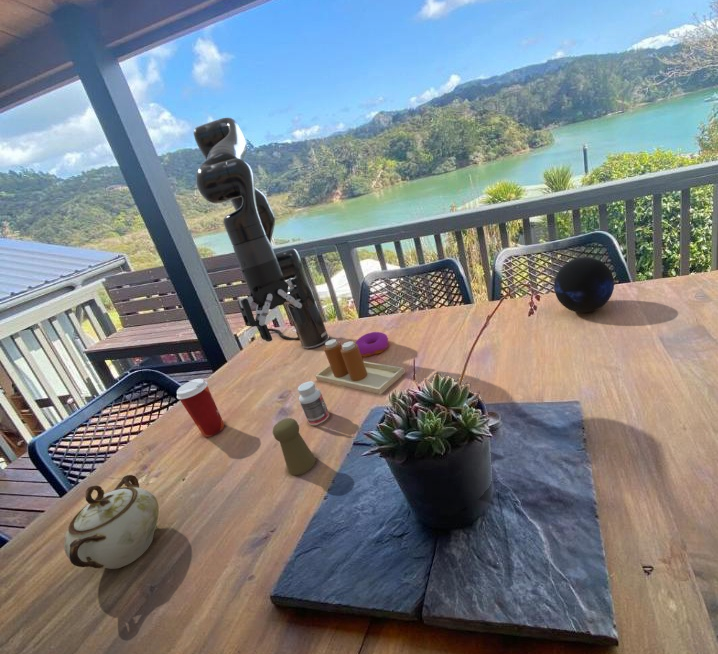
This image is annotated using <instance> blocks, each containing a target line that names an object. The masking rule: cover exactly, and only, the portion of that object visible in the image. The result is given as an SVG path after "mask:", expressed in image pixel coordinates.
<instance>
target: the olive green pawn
mask: <svg viewBox="0 0 718 654" xmlns="http://www.w3.org/2000/svg"><path fill="white" fill-rule="evenodd" d="M272 435H273V437H274V439H275V440H276V441H277V442H279V444H280V449H281V451H282V456H283V458H284V462H285V465H286V469H287V472H288V473H289V474H290V475H291V476H300V475H303V474H305V473H307V472H309V471H310V470H311V469H312V468H313V467H314V466H315V464H316V461H317V460H316V457H315V456H314V453H313V452H312V451H311V449H310V447H309V446H308V445H307V443H306V441H305V439H304V438H303V437H302V435H301V434H300V425H299V423H298V422H297V420H296V419H294V418H293V417H286V418H283V419H281V420H279V421H277V422H276V423H275V424H274V426H273V428H272Z"/></svg>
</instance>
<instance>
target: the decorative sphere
mask: <svg viewBox="0 0 718 654" xmlns="http://www.w3.org/2000/svg"><path fill="white" fill-rule="evenodd" d="M553 287H554V294H555V296H556V298H557V300H558V302H559V303H560V305H562V306H563V307H564V308H566V309H568V310H569V311H572V312H575V313H580V314H585V313H586V314H587V313H593V312H594V311H597V310H599V309H601V308H602V307H604V306H605V305H606V304H607V303H608V302H609V300H610V299H611V297H612V295H613V292H614V288H615V279H614V276H613V273H612V270H611V269H610V268H609V266H608V265H607V264H605V263H604V262H602V260H599V259H597V258H595V257H588V256H583V257H577V258H573V259H571V260H569V261H567V262H566V263H565V264H564V265H562V267H561V268H559V270H558V272H557V273H556V276H555V279H554V283H553Z"/></svg>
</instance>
